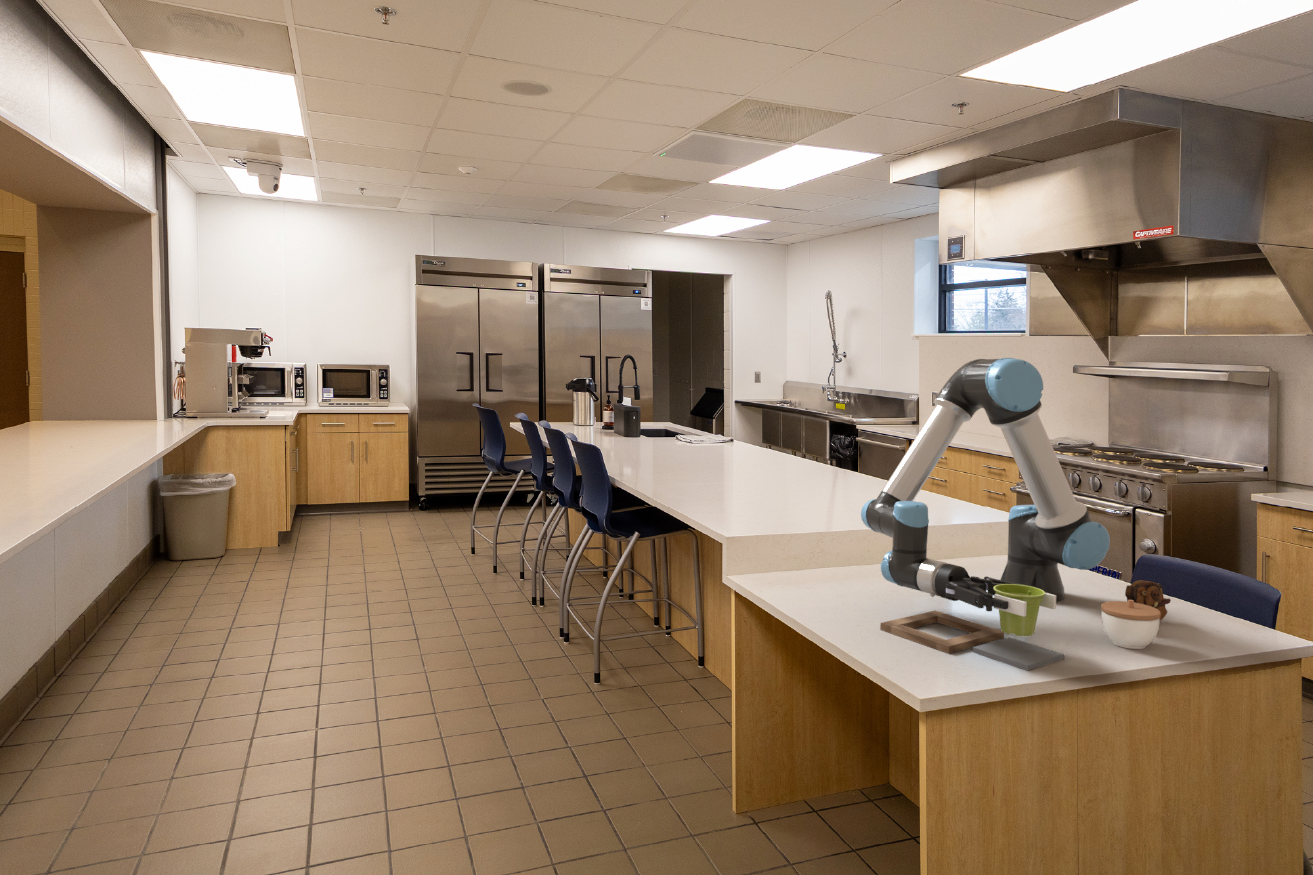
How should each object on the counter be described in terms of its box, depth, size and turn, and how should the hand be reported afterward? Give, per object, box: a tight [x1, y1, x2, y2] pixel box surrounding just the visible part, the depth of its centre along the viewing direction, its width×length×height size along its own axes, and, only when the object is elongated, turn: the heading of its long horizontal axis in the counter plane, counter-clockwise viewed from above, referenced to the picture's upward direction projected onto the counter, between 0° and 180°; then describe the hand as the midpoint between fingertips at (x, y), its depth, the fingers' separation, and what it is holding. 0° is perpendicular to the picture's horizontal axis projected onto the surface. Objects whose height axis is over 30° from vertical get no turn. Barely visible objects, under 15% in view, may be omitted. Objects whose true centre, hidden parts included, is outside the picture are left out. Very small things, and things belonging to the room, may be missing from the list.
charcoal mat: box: [972, 636, 1065, 671], centre depth 163 cm, size 12×12×1 cm
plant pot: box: [993, 584, 1045, 637], centre depth 162 cm, size 9×9×9 cm
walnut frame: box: [879, 610, 1005, 655], centre depth 176 cm, size 18×18×2 cm
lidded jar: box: [1100, 600, 1161, 650], centre depth 169 cm, size 11×11×9 cm
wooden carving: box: [1124, 579, 1171, 622], centre depth 182 cm, size 16×5×10 cm, turn 122°
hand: (1040, 605), depth 158 cm, fingers closed on plant pot, 9 cm apart
